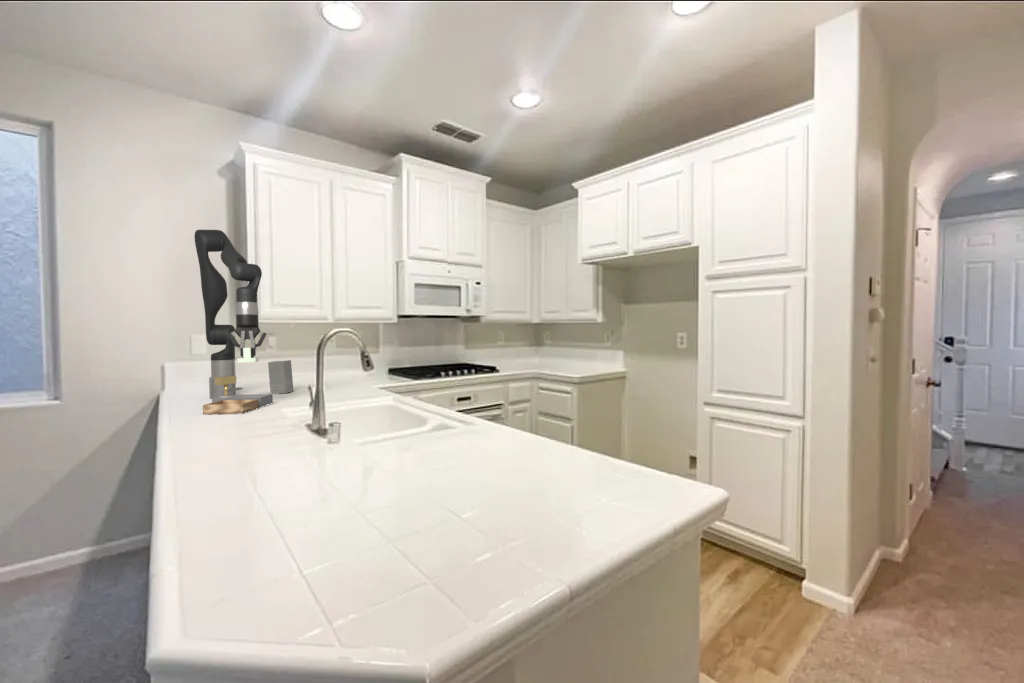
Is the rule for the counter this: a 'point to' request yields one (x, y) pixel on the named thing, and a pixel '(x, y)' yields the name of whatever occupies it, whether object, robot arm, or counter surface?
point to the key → (226, 381)
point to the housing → (248, 398)
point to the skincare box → (280, 376)
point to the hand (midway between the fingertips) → (248, 357)
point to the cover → (247, 356)
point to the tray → (230, 406)
